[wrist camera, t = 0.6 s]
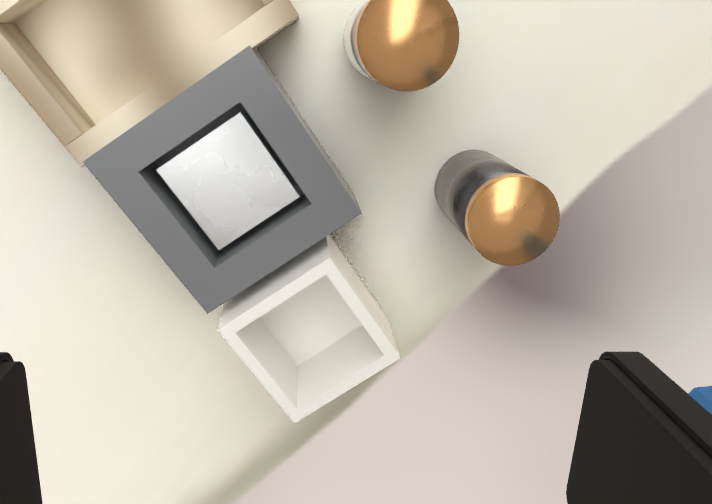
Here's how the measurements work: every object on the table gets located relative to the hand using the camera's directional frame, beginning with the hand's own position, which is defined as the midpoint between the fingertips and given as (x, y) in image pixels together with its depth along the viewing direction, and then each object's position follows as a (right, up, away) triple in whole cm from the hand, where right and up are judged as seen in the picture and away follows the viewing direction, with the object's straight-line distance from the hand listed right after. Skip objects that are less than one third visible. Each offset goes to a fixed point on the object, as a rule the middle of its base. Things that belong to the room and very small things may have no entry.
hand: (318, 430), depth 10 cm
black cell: (+7, +6, +23) cm, 25 cm away
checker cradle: (-6, +7, +22) cm, 24 cm away
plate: (-6, +6, +20) cm, 22 cm away
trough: (-9, +14, +19) cm, 25 cm away
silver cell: (+2, +13, +20) cm, 25 cm away
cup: (-2, 0, +24) cm, 25 cm away
